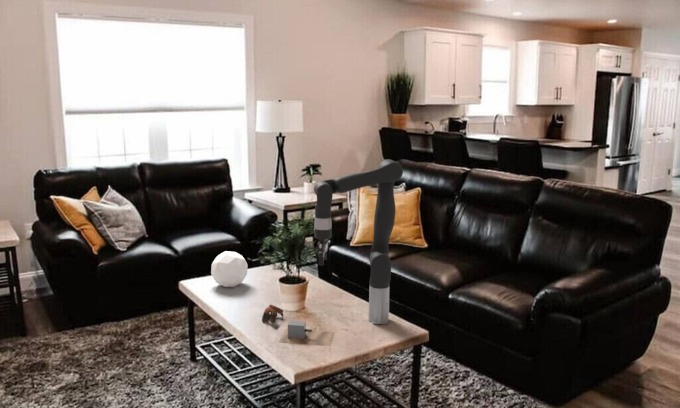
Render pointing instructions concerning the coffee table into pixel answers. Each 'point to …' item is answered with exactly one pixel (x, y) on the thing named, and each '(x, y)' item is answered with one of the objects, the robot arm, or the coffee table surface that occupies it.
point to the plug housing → (297, 329)
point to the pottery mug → (273, 315)
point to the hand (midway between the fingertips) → (322, 262)
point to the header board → (310, 338)
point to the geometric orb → (229, 269)
